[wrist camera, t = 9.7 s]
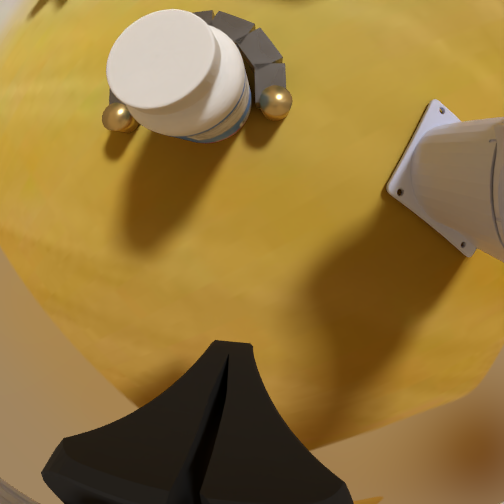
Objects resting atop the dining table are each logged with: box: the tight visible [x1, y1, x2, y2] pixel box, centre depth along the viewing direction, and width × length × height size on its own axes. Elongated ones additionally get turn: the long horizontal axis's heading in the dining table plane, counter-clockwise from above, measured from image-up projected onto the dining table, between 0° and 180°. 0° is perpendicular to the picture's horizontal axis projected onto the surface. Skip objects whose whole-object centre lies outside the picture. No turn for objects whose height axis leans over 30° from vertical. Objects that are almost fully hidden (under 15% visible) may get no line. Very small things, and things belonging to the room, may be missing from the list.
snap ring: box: [102, 10, 292, 133], centre depth 15 cm, size 8×12×2 cm, turn 91°
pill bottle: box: [106, 9, 252, 143], centre depth 12 cm, size 6×5×10 cm
